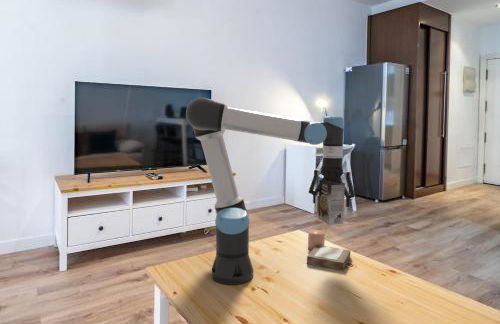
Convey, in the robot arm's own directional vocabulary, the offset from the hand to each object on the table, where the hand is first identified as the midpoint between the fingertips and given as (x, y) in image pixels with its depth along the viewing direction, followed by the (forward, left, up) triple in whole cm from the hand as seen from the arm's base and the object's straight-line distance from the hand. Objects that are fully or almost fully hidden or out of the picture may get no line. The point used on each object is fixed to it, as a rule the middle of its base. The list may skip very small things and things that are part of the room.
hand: (330, 213), depth 140 cm
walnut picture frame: (0, 0, -19) cm, 19 cm away
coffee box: (0, 0, -4) cm, 4 cm away
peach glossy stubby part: (-8, +11, -20) cm, 24 cm away
